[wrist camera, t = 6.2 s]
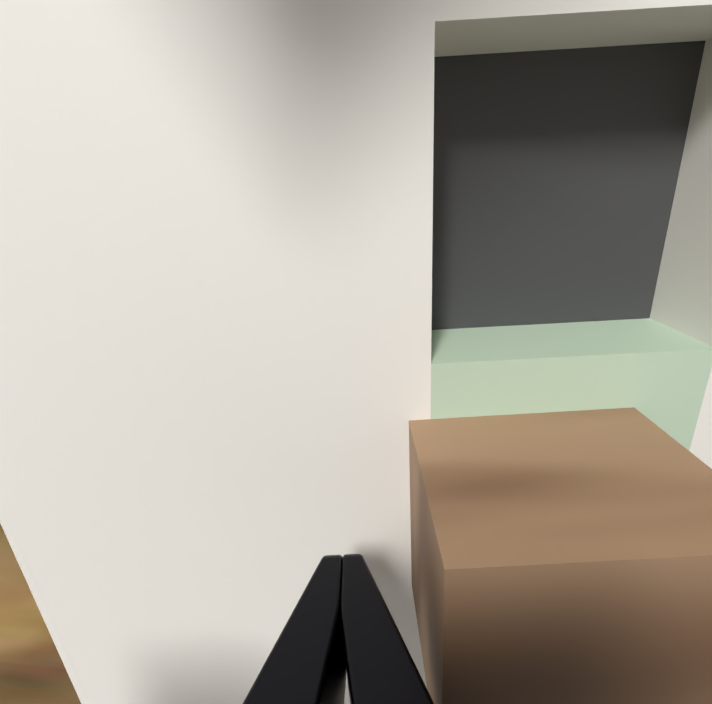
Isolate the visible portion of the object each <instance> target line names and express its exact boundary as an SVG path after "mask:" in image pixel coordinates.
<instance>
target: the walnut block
mask: <svg viewBox="0 0 712 704" xmlns="http://www.w3.org/2000/svg"><path fill="white" fill-rule="evenodd" d="M409 466H410V520H411V574H412V590H413V597H414V604H415V610H416V617H417V624H418V630H419V637H420V644H421V650H422V657H423V664H424V670H425V677H426V684H427V690H428V692H429V694H430V696H431V698H432V700H433V702H434V704H712V469H711V468H710V467H709V466H707V465H706V464H705V463H704V462H702V461H701V460H700V459H699V458H697V457H696V456H695V455H694V454H692V453H691V452H690V451H689V450H687V449H686V448H685V447H684V446H682V445H681V444H680V443H678V442H677V441H676V440H675V439H673V438H672V437H671V436H670V435H668V434H667V433H666V432H665V431H663V430H662V429H661V428H660V427H658V426H657V425H656V424H655V423H653V422H652V421H651V420H650V419H648V418H647V417H646V416H644V415H643V414H642V413H641V412H639V411H638V410H637V409H636V408H634V407H632V408H615V409H598V410H580V411H563V412H546V413H529V414H511V415H494V416H477V417H459V418H442V419H425V420H409Z"/></svg>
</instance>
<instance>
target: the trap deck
mask: <svg viewBox="0 0 712 704" xmlns="http://www.w3.org/2000/svg"><path fill="white" fill-rule="evenodd" d="M632 407H634V408H636V409H637V410H638V411H639V412H641V413H642V414H643V415H644V416H646V417H647V418H648V419H650V420H651V421H652V422H653V423H655V424H656V425H657V426H658V427H660V428H661V429H662V430H663V431H665V432H666V433H667V434H668V435H670V436H671V437H672V438H673V439H675V440H676V441H677V442H678V443H680V444H681V445H682V446H684V447H685V448H686V449H687V450H689V451H690V452H691V453H692V454H694V455H695V456H696V457H697V458H699V459H700V460H701V461H702V462H704V463H705V464H706V465H707V466H709V467H710V468H711V469H712V0H0V523H1V526H2V528H3V530H4V532H5V534H6V537H7V539H8V541H9V543H10V546H11V548H12V550H13V552H14V554H15V557H16V559H17V561H18V563H19V566H20V568H21V570H22V572H23V575H24V577H25V579H26V581H27V583H28V586H29V588H30V590H31V592H32V595H33V597H34V599H35V601H36V603H37V606H38V608H39V610H40V612H41V615H42V617H43V619H44V621H45V624H46V626H47V628H48V630H49V632H50V635H51V637H52V639H53V641H54V644H55V646H56V648H57V650H58V652H59V655H60V657H61V659H62V661H63V664H64V666H65V668H66V670H67V673H68V675H69V677H70V679H71V681H72V684H73V686H74V688H75V690H76V693H77V695H78V697H79V699H80V701H81V704H243V702H244V700H245V698H246V696H247V694H248V693H249V691H250V689H251V687H252V685H253V683H254V682H255V680H256V678H257V676H258V674H259V672H260V671H261V669H262V667H263V665H264V663H265V661H266V660H267V658H268V656H269V654H270V652H271V650H272V649H273V647H274V645H275V643H276V641H277V639H278V638H279V636H280V634H281V632H282V630H283V628H284V627H285V625H286V623H287V621H288V619H289V617H290V616H291V614H292V612H293V610H294V608H295V606H296V605H297V603H298V601H299V599H300V597H301V595H302V594H303V592H304V590H305V588H306V586H307V584H308V583H309V581H310V579H311V577H312V575H313V573H314V572H315V570H316V568H317V566H318V564H319V562H320V561H321V559H322V557H324V556H325V555H341V556H342V557H343V556H344V555H345V554H361V555H362V556H363V557H364V559H365V561H366V563H367V565H368V568H369V570H370V572H371V574H372V576H373V578H374V580H375V582H376V584H377V586H378V588H379V590H380V592H381V595H382V597H383V599H384V601H385V603H386V605H387V607H388V609H389V611H390V613H391V615H392V617H393V619H394V621H395V624H396V626H397V628H398V630H399V632H400V634H401V636H402V638H403V640H404V642H405V644H406V646H407V648H408V651H409V653H410V655H411V657H412V659H413V661H414V663H415V665H416V667H417V669H418V671H419V673H420V675H421V677H422V680H423V682H424V684H425V686H426V688H427V684H426V677H425V670H424V664H423V657H422V650H421V644H420V637H419V630H418V624H417V617H416V610H415V604H414V597H413V590H412V574H411V520H410V466H409V420H425V419H442V418H459V417H477V416H494V415H511V414H529V413H546V412H563V411H580V410H598V409H615V408H632ZM344 704H350V698H349V690H348V680H347V670H346V687H345V698H344Z"/></svg>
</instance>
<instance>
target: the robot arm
mask: <svg viewBox="0 0 712 704" xmlns="http://www.w3.org/2000/svg"><path fill="white" fill-rule="evenodd" d="M346 670H347V680H348V690H349V698H350V704H434V702H433V700H432V698H431V696H430V694H429V692H428V690H427V688H426V686H425V684H424V682H423V680H422V677H421V675H420V673H419V671H418V669H417V667H416V665H415V663H414V661H413V659H412V657H411V655H410V653H409V651H408V648H407V646H406V644H405V642H404V640H403V638H402V636H401V634H400V632H399V630H398V628H397V626H396V624H395V621H394V619H393V617H392V615H391V613H390V611H389V609H388V607H387V605H386V603H385V601H384V599H383V597H382V595H381V592H380V590H379V588H378V586H377V584H376V582H375V580H374V578H373V576H372V574H371V572H370V570H369V568H368V565H367V563H366V561H365V559H364V557H363V556H362V555H361V554H345V555H344V556H343V557H342V556H341V555H325V556H324V557H322V559H321V561H320V562H319V564H318V566H317V568H316V570H315V572H314V573H313V575H312V577H311V579H310V581H309V583H308V584H307V586H306V588H305V590H304V592H303V594H302V595H301V597H300V599H299V601H298V603H297V605H296V606H295V608H294V610H293V612H292V614H291V616H290V617H289V619H288V621H287V623H286V625H285V627H284V628H283V630H282V632H281V634H280V636H279V638H278V639H277V641H276V643H275V645H274V647H273V649H272V650H271V652H270V654H269V656H268V658H267V660H266V661H265V663H264V665H263V667H262V669H261V671H260V672H259V674H258V676H257V678H256V680H255V682H254V683H253V685H252V687H251V689H250V691H249V693H248V694H247V696H246V698H245V700H244V702H243V704H344V698H345V687H346Z"/></svg>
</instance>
